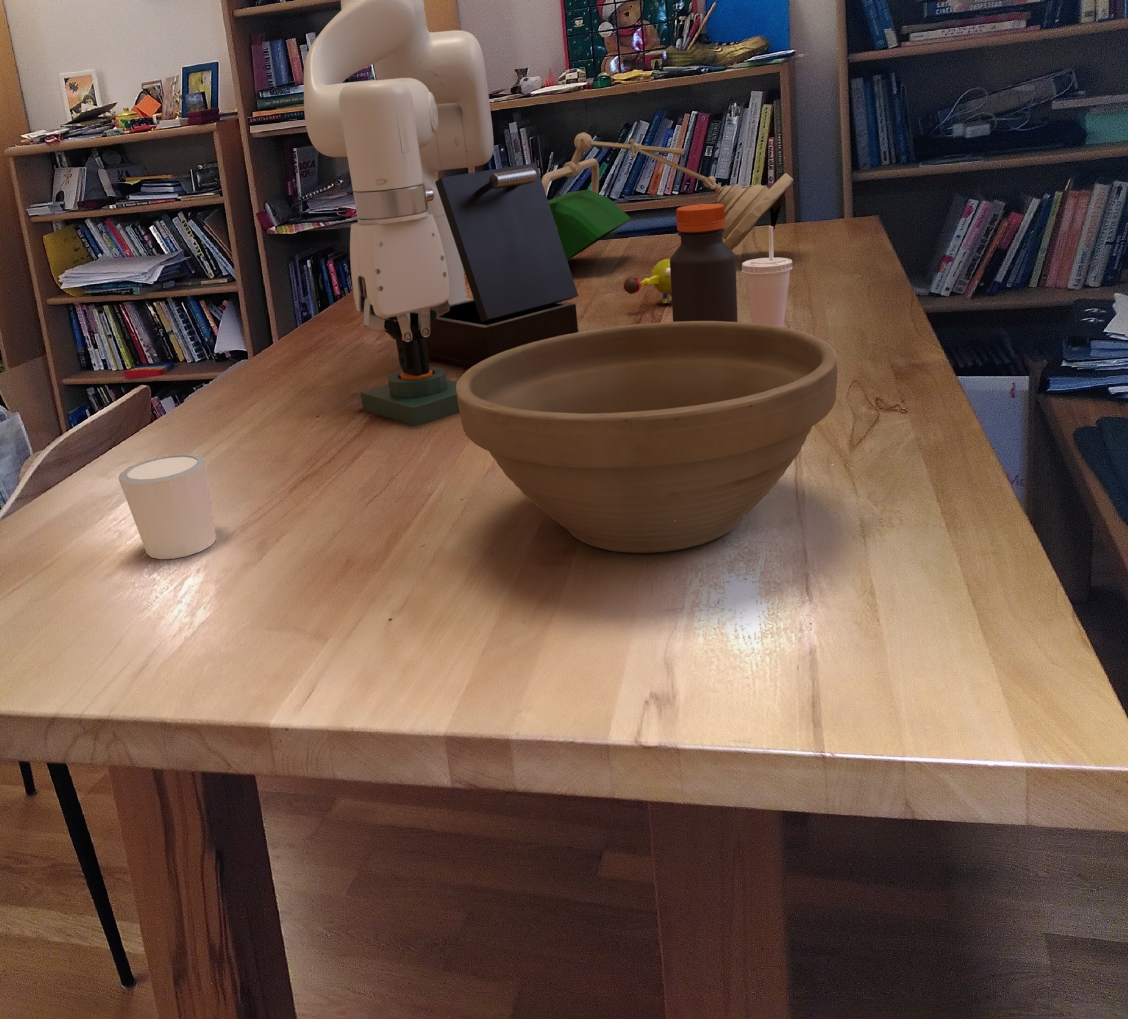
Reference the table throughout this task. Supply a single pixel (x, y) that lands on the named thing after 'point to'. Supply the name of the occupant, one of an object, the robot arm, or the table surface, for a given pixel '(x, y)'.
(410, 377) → the button
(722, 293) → the bottle
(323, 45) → the robot arm
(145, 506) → the white cylinder
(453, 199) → the grill lid
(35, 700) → the table surface
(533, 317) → the dark open lidded box
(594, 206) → the desk lamp
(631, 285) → the toy figure
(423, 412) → the button block
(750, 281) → the smoothie
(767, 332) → the brown mixing bowl
